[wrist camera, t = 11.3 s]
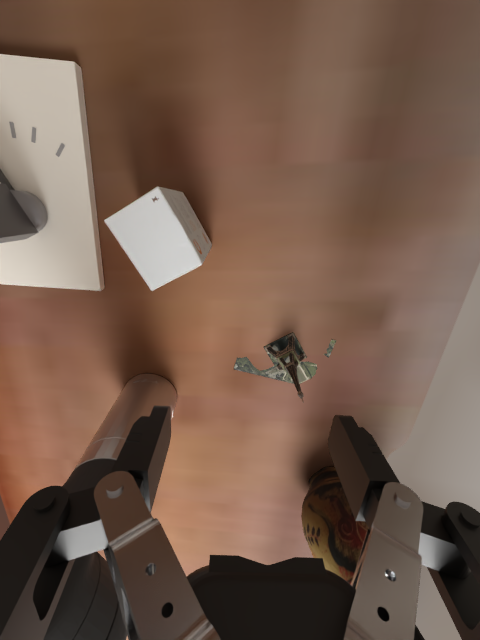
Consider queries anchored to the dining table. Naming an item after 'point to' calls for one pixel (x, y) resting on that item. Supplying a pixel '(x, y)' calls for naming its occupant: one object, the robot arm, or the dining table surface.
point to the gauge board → (49, 173)
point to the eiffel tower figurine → (285, 362)
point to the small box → (160, 236)
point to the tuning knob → (19, 213)
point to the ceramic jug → (333, 526)
